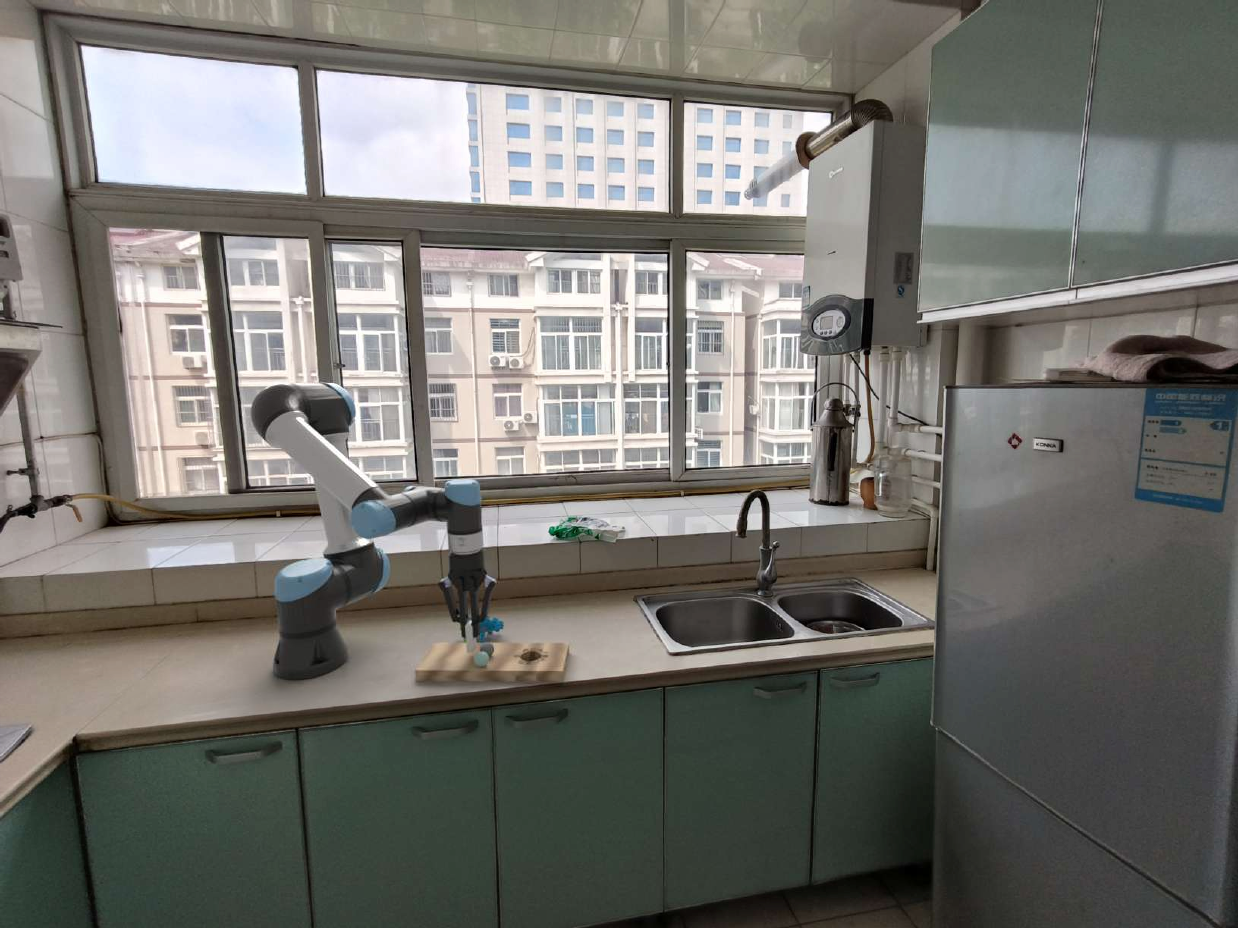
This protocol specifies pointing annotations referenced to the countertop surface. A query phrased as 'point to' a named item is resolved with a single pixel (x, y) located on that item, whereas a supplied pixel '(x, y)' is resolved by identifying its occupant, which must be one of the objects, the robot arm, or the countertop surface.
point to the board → (495, 663)
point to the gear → (487, 627)
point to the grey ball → (487, 648)
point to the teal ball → (481, 659)
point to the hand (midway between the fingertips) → (471, 650)
